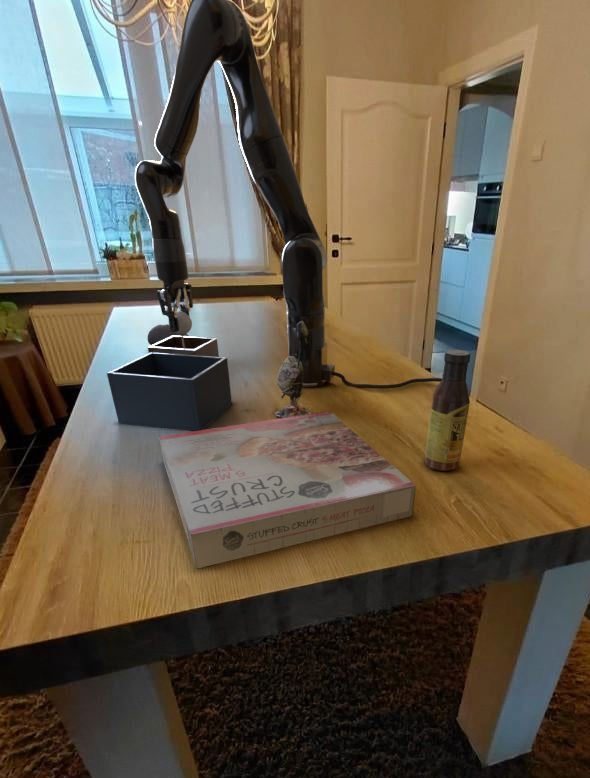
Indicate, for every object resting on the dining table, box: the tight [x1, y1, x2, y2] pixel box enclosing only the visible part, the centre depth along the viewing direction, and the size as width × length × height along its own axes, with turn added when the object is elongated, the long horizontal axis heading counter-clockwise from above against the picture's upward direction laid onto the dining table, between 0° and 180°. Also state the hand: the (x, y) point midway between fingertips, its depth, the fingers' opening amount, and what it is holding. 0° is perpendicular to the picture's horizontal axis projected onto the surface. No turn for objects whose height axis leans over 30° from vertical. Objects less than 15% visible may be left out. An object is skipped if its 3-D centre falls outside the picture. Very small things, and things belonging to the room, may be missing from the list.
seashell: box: [147, 323, 191, 346], centre depth 157 cm, size 14×19×8 cm
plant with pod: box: [273, 321, 312, 418], centre depth 103 cm, size 8×11×20 cm
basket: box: [147, 336, 220, 357], centre depth 136 cm, size 14×14×7 cm
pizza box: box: [158, 410, 417, 569], centre depth 79 cm, size 32×5×32 cm
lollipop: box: [168, 310, 193, 349], centre depth 134 cm, size 6×6×15 cm
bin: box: [106, 352, 233, 432], centre depth 106 cm, size 19×17×11 cm
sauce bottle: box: [424, 349, 471, 472], centre depth 83 cm, size 6×6×20 cm
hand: (181, 328), depth 132 cm, fingers closed on lollipop, 6 cm apart
